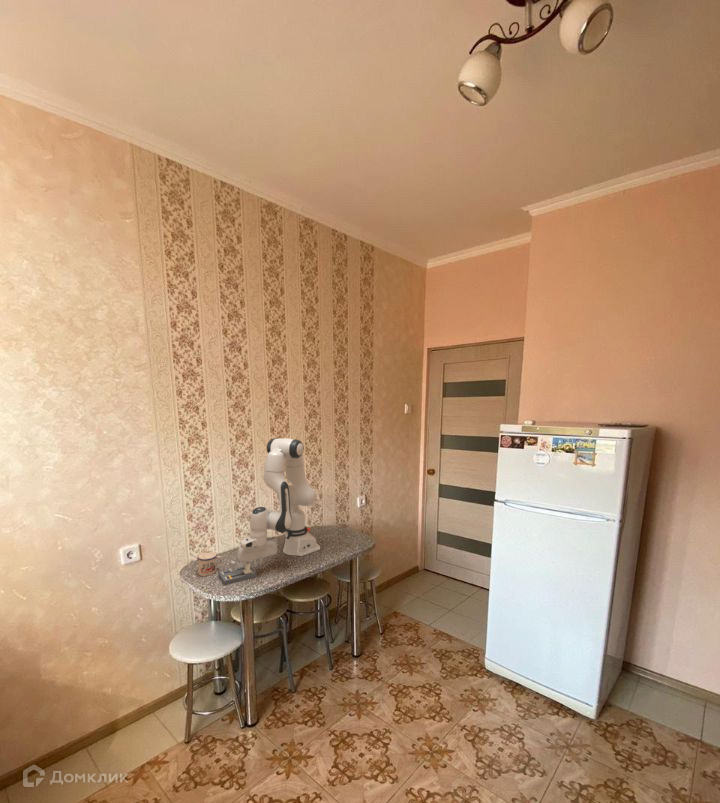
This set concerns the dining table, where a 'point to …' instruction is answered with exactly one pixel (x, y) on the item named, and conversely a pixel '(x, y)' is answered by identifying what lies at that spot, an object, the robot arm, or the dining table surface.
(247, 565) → the cap
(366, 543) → the dining table surface
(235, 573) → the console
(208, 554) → the teacup with lid
